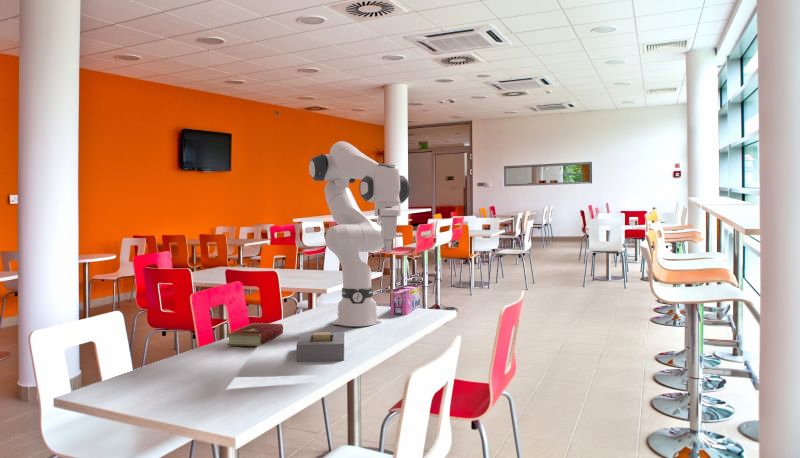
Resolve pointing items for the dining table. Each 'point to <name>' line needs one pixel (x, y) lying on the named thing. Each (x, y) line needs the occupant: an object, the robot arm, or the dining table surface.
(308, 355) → the well
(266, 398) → the dining table surface
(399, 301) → the gum box
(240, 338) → the hardcover book
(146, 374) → the dining table surface
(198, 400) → the dining table surface
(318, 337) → the tan block
